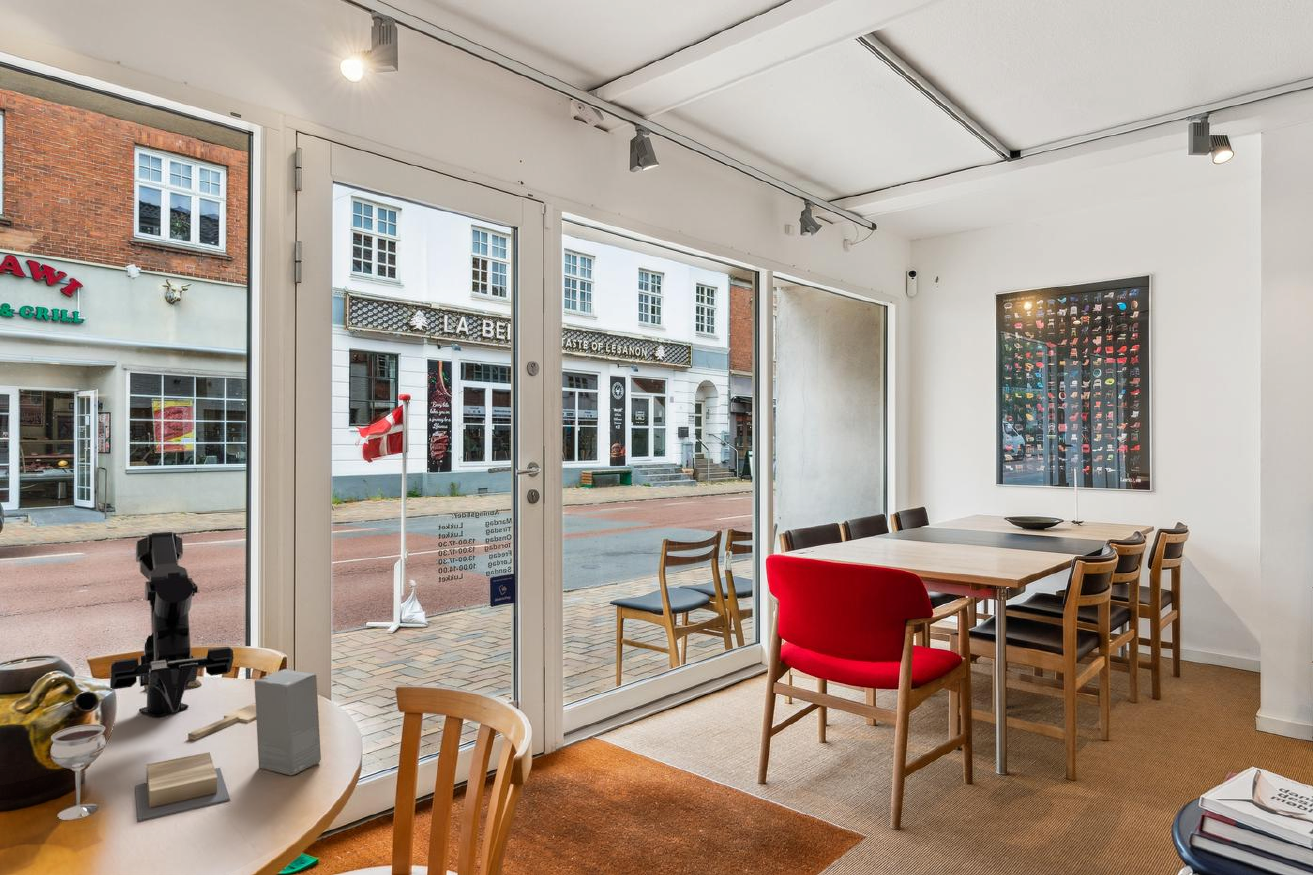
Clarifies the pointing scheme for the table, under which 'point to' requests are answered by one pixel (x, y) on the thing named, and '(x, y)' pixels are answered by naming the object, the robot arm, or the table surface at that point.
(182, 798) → the oak tile
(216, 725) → the wooden spatula
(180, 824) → the table surface
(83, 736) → the wineglass
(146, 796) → the felt mat
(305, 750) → the skincare box
